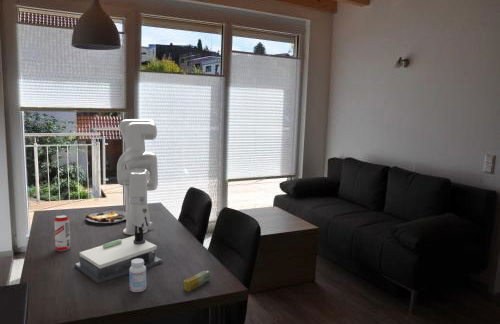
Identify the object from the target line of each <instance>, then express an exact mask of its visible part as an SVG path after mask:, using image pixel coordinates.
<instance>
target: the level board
mask: <svg viewBox="0 0 500 324" xmlns="http://www.w3.org/2000/svg"><path fill="white" fill-rule="evenodd" d="M157 249H158V246H157V244H154V243H151V242H149V241H147V240H146V238H144V237H143V240H142V241H138V242H137V241H135V235H130V236H128V237H126V238H122V239H121V238H118V239H116V240H112V241H109V242H107V243H103V244H102V245H99V246H95V247H93V248H89V249H86V250H83V251H82V250H81V251H79V253H78V254H79V256H80V257H82V258H84V259H86V260H87V261H89V262H90V263H92V264H93V265H95V266H96V267H98V268H100V269H101V268H103V267H106V266H109V265H112V264H115V263H118V262H121V261H124V260H127V259H129V258H132V257H135V256H138V255H141V254H144V253H147V252H150V251H155V250H157Z"/></svg>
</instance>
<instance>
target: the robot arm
mask: <svg viewBox="0 0 500 324" xmlns="http://www.w3.org/2000/svg"><path fill="white" fill-rule="evenodd" d="M119 133H120V135H121V137H122V139H123V142H124V145H125V146H124V147H125V151H124V152H123V153H122V154H121V155H120V156H119V158H118V160H117V163H116V181H117V183H118V185H120V186H121V187H122V186H123V189H124V195H125V196H124V198H125V212H126V220H125V228H124V229H123V230H122V231H123V234H124V235H128V236H135V241H137V242H138V241H142V240H143V238H144V234H146V233H147V232H148V227H150V226H153V225H154V224H153V221H151V220H150V210H149V204H148V192H149V191H151V192H152V191H156V190H157V188H158V185H159V175H158V174H159V173H158V171H159V170H158V158H157V155H156V153H154V152H146V143H145V141H154V140H156V139H157V135H158V129H157V125H156V123H155V121H154V120H153V119H146V118H145V119H143V118H142V119H141V118H140V119H138V118H129V119H128V118H127V119H123V120H121V121H120V123H119ZM124 166H125V168H124Z"/></svg>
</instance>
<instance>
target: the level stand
mask: <svg viewBox="0 0 500 324" xmlns="http://www.w3.org/2000/svg"><path fill="white" fill-rule="evenodd" d="M155 253H156V252H155V251H154V250H152V251H150V252H147V253H144V254H141V255H138V256H135V257H132V258H129V259H127V260H124V261H121V262H118V263H115V264H112V265H109V266H106V267H103V268H101V269H100V268H98V267H96V266H95V265H93V264H92V263H90V262H89V261H87V260H86V259H84V258H82V257H81V256H80V257H79V262H76V263H74V268H76V269H77V270H78V271H80V272H82V273H83V274H84V275H86V276H87V277H89V278H90V279H91V280H93V281H94V282H96V283H97V284H101V283H103V282H107V281H110V280H113V279H116V278H119V277H123V276H125V275H129V269H130V267H131V266H132V265H131V261H132V260H133V259H137V258H140V259H143V260H144V266H145V267H146V269H148V268H151V267H153V266H156V265H160V264H162V263H163V259H161V258H160V257H157V256H156V254H155ZM150 266H151V267H150Z"/></svg>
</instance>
